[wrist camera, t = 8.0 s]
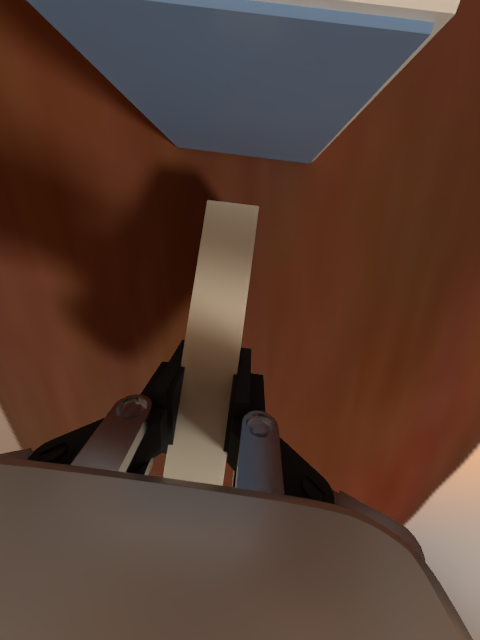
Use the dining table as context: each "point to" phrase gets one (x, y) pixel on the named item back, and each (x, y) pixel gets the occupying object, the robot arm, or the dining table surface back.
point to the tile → (249, 64)
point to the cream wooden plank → (213, 342)
